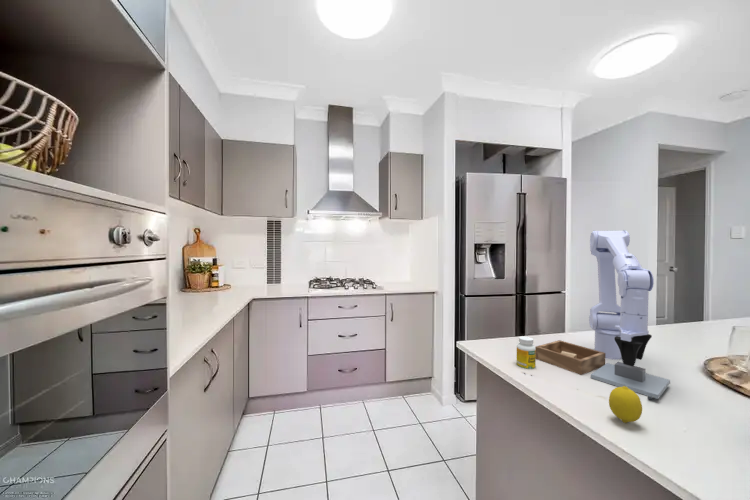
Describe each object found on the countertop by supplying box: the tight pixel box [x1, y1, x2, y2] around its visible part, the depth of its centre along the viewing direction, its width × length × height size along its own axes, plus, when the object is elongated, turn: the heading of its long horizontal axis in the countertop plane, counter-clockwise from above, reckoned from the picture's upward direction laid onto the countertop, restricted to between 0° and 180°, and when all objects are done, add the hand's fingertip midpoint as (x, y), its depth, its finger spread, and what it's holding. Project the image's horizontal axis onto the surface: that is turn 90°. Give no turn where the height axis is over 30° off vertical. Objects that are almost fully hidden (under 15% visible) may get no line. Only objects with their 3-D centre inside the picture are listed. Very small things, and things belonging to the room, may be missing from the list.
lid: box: [590, 361, 671, 400], centre depth 82 cm, size 14×14×6 cm
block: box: [561, 351, 577, 358], centre depth 96 cm, size 4×4×2 cm
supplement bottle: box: [516, 335, 537, 370], centre depth 92 cm, size 5×5×10 cm
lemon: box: [608, 386, 643, 424], centre depth 64 cm, size 6×6×8 cm
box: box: [535, 339, 606, 376], centre depth 95 cm, size 14×14×5 cm
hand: (632, 361), depth 81 cm, fingers open, 7 cm apart
